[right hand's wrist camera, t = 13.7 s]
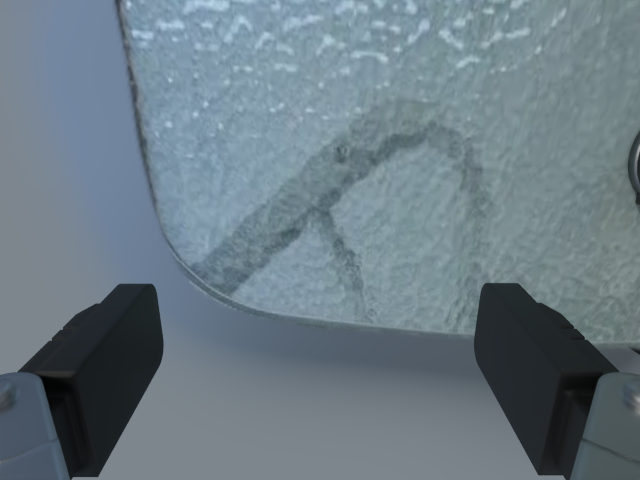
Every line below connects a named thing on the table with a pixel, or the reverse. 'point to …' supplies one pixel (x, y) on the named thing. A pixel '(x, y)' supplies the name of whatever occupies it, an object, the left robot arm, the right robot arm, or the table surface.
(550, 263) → the table surface
